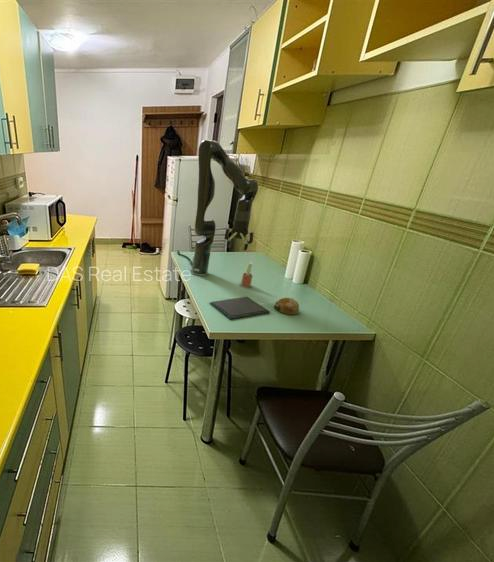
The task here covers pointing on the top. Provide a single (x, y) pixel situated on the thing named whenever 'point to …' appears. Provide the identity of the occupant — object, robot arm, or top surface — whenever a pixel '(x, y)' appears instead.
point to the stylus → (249, 269)
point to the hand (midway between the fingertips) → (236, 248)
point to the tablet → (239, 308)
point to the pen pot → (246, 280)
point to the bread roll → (287, 306)
